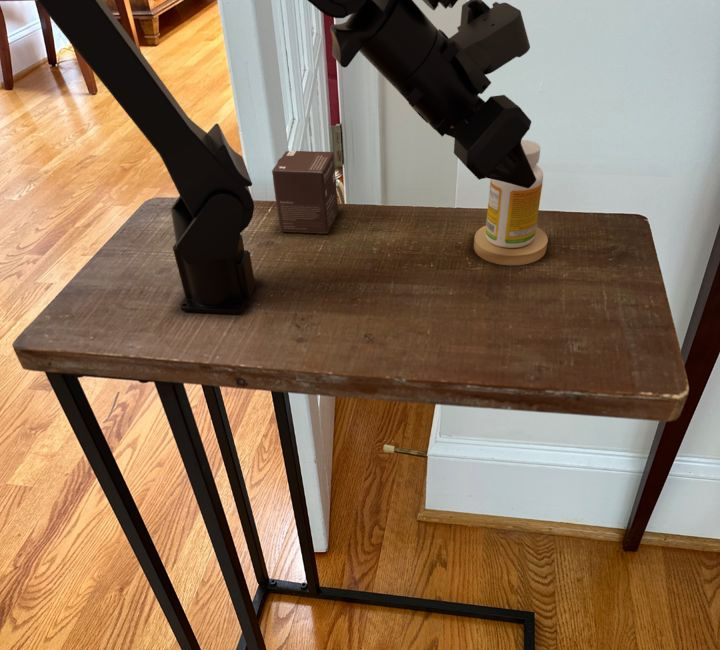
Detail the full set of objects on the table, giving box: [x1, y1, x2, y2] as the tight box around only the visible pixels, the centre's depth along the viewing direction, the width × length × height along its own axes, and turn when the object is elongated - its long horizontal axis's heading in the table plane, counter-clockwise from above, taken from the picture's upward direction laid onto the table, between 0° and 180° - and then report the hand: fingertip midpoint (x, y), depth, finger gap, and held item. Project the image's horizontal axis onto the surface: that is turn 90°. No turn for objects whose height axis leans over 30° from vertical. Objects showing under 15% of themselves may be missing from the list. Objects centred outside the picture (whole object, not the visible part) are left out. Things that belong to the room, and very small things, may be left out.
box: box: [271, 150, 339, 234], centre depth 81 cm, size 6×6×7 cm
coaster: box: [473, 225, 549, 266], centre depth 76 cm, size 8×8×1 cm
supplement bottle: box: [485, 139, 544, 248], centre depth 73 cm, size 5×5×10 cm
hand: (513, 166), depth 70 cm, fingers open, 9 cm apart
